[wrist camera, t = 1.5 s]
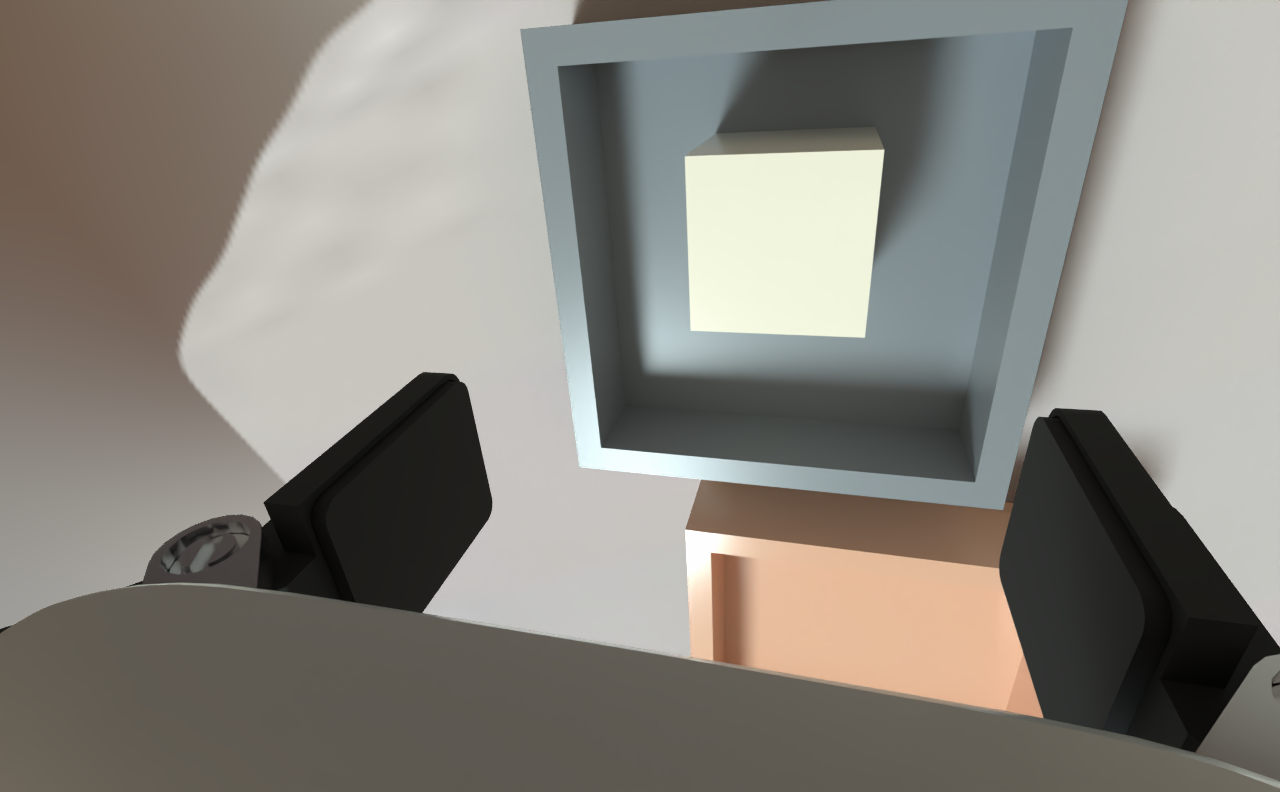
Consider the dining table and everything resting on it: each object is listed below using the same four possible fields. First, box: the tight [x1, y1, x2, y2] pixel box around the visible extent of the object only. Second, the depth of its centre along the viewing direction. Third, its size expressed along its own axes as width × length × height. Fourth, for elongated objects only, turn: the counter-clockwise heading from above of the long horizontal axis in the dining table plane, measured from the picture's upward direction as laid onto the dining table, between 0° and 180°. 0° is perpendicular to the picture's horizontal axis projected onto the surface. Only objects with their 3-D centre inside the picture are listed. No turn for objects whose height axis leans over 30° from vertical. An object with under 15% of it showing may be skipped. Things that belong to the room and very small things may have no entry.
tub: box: [685, 480, 1043, 718], centre depth 34 cm, size 18×18×5 cm
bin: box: [520, 0, 1128, 510], centre depth 26 cm, size 18×18×5 cm
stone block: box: [685, 127, 884, 338], centre depth 24 cm, size 6×6×6 cm
